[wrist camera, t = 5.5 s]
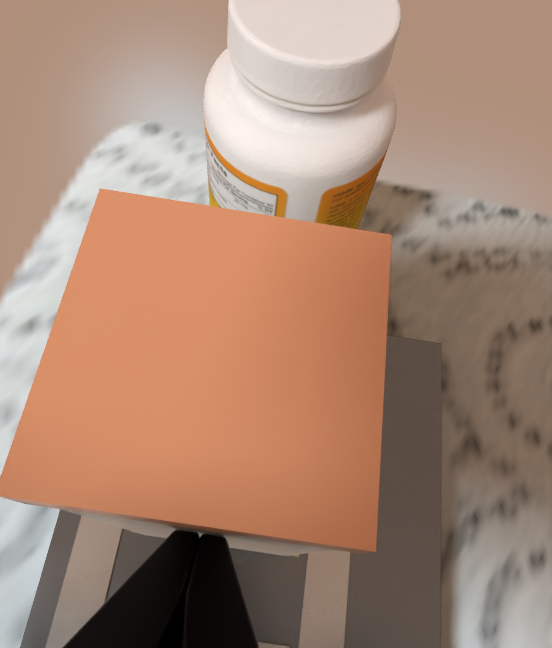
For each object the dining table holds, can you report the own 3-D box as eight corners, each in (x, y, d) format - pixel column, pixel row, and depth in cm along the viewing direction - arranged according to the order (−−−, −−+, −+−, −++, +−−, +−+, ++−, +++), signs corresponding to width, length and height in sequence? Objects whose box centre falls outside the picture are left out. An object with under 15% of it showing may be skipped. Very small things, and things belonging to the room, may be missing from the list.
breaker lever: (286, 558, 15) (375, 551, 6) (141, 536, 15) (-7, 494, 6) (302, 416, 17) (392, 235, 7) (173, 396, 16) (99, 188, 7)
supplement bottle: (341, 185, 22) (415, -65, 13) (354, 300, 20) (452, 91, 11) (212, 183, 22) (198, -79, 13) (210, 300, 19) (192, 82, 11)
